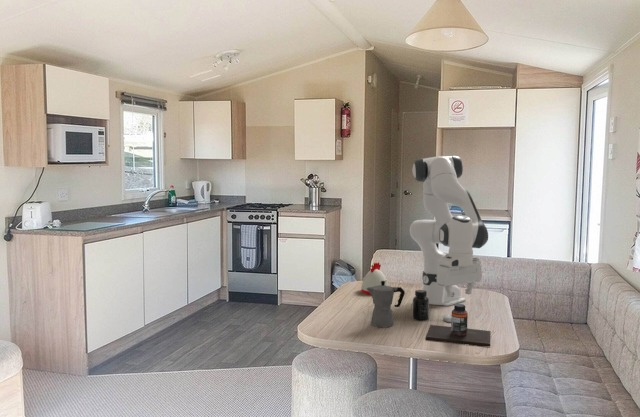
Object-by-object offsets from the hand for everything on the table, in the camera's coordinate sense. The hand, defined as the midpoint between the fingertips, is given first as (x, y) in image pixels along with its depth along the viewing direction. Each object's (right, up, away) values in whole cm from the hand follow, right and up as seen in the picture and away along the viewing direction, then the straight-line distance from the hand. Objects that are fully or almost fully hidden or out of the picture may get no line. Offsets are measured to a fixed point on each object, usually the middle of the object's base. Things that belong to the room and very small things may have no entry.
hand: (459, 295), depth 203 cm
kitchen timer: (-25, -10, +71) cm, 76 cm away
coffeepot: (-26, -15, +16) cm, 34 cm away
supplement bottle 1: (-10, -14, +24) cm, 30 cm away
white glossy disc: (+3, -14, +23) cm, 27 cm away
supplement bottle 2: (0, -15, +1) cm, 15 cm away
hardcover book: (0, -17, +1) cm, 17 cm away
